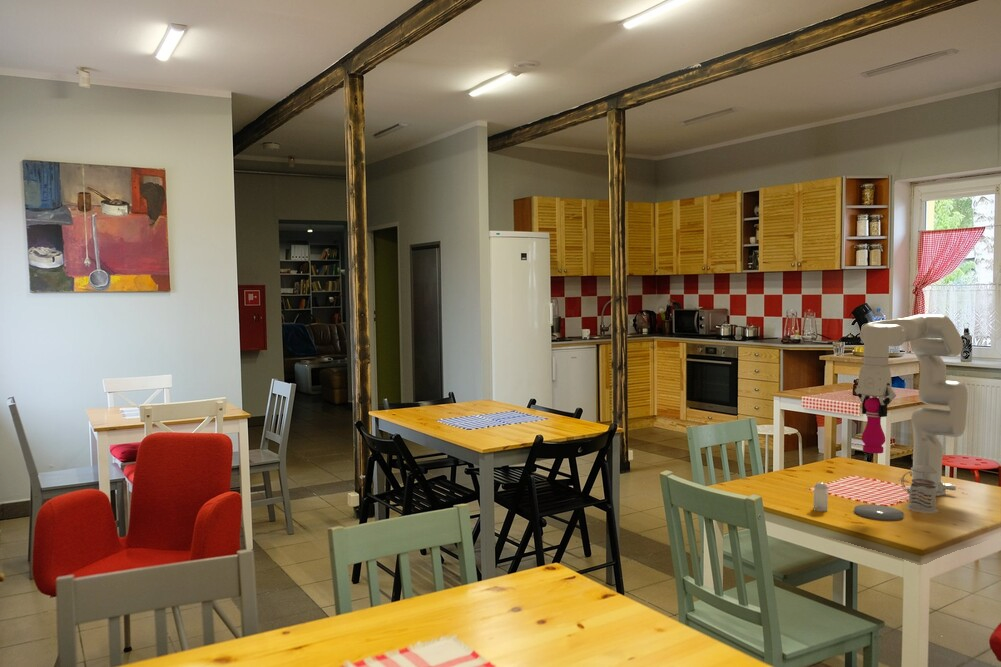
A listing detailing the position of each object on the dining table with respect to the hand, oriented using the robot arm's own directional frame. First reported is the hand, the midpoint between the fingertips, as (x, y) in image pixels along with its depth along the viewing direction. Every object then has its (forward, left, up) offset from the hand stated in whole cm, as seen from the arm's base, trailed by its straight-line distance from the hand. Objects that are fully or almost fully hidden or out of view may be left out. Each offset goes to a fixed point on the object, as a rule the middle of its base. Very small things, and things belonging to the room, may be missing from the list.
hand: (874, 414), depth 259 cm
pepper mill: (0, 0, -13) cm, 13 cm away
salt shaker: (+16, +4, -33) cm, 37 cm away
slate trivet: (-2, +1, -33) cm, 33 cm away
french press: (-15, -13, -34) cm, 39 cm away
